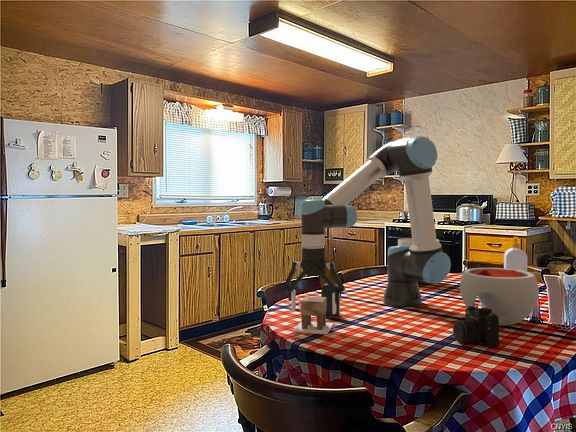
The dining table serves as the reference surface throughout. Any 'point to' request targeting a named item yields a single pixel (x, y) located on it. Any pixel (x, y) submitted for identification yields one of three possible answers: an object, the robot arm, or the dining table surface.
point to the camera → (478, 327)
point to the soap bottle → (515, 257)
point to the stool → (313, 311)
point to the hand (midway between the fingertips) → (313, 312)
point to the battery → (330, 299)
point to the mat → (313, 328)
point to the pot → (501, 292)
